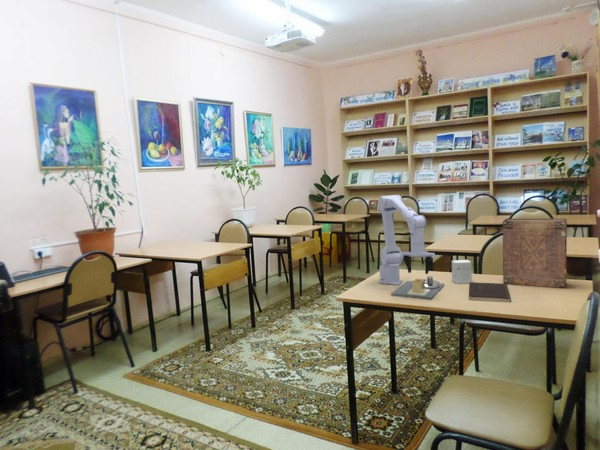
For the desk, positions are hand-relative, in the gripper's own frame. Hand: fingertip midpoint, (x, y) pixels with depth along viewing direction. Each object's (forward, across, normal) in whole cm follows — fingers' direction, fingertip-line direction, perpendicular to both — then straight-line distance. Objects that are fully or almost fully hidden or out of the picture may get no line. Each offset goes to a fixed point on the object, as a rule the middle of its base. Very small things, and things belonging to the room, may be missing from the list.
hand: (418, 273), depth 190 cm
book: (+10, +44, +34) cm, 57 cm away
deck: (+10, -2, +6) cm, 12 cm away
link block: (+8, 0, 0) cm, 8 cm away
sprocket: (+9, 0, +12) cm, 15 cm away
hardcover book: (+11, +27, +12) cm, 32 cm away
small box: (+10, +13, +28) cm, 32 cm away
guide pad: (+9, 0, 0) cm, 9 cm away
